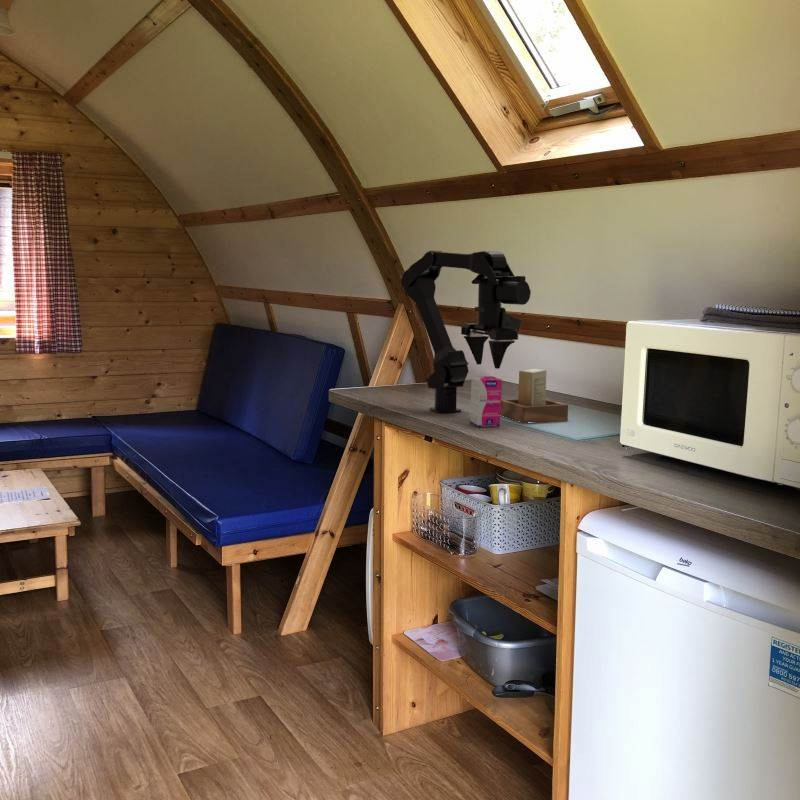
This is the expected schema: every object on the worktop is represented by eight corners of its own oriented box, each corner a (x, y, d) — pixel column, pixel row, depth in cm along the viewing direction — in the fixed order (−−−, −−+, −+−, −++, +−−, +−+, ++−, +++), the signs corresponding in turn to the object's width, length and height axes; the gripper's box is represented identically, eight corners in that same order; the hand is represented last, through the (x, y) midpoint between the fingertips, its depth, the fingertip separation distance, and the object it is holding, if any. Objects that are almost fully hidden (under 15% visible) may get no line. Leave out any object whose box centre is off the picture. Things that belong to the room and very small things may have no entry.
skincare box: (531, 415, 226) (533, 368, 224) (545, 417, 223) (547, 369, 221) (516, 418, 222) (518, 370, 220) (530, 421, 219) (532, 371, 217)
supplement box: (477, 427, 209) (479, 379, 207) (469, 423, 214) (470, 376, 213) (500, 426, 210) (502, 379, 208) (491, 422, 216) (493, 375, 214)
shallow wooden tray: (498, 415, 226) (499, 400, 225) (540, 412, 231) (540, 397, 230) (524, 423, 214) (525, 407, 214) (567, 420, 219) (568, 404, 219)
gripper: (538, 304, 212) (536, 369, 214) (499, 301, 229) (497, 361, 231) (497, 305, 208) (495, 371, 210) (460, 301, 224) (459, 362, 227)
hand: (487, 366), depth 220 cm, fingers open, 9 cm apart
